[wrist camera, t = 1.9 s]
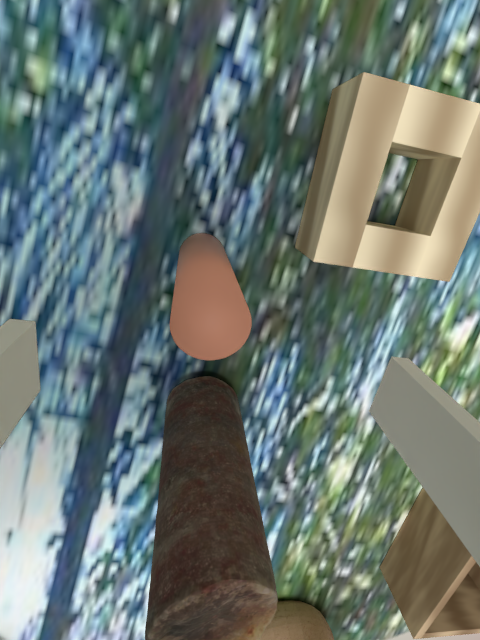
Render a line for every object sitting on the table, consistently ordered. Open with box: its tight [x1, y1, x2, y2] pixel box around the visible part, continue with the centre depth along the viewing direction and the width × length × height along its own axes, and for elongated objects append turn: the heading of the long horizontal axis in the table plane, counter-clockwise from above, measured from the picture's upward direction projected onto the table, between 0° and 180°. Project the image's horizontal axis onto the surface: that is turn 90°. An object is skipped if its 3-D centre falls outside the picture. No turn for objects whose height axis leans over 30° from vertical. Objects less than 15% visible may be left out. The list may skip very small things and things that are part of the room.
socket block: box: [295, 72, 480, 282], centre depth 26 cm, size 12×12×5 cm
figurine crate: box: [380, 488, 480, 639], centre depth 47 cm, size 15×19×9 cm
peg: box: [170, 233, 252, 360], centre depth 23 cm, size 4×4×14 cm
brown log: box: [145, 376, 278, 640], centre depth 26 cm, size 8×7×20 cm
